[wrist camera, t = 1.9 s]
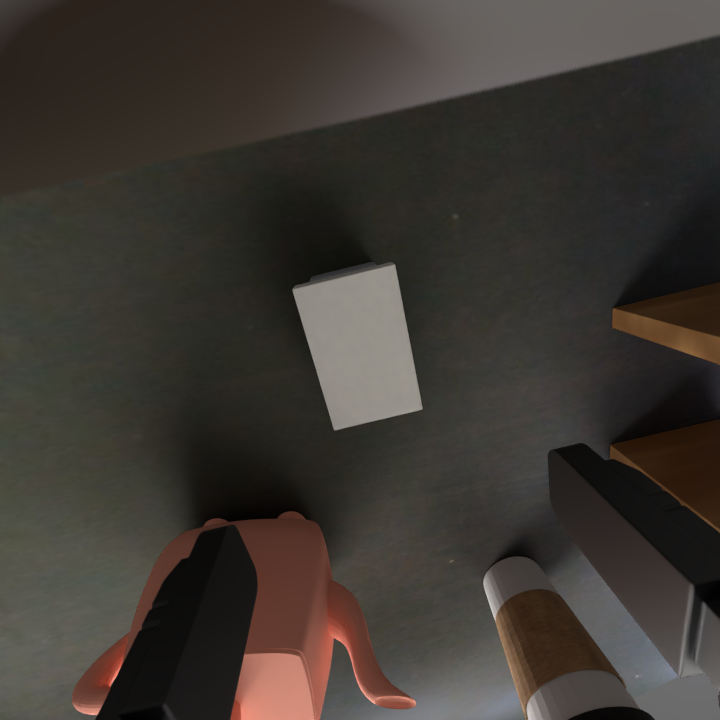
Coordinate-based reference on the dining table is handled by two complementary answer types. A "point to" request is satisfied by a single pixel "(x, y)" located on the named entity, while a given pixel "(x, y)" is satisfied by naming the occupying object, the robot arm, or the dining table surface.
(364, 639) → the teapot
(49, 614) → the dining table surface
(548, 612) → the coffee cup
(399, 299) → the white book
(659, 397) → the dining table surface
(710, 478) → the shelf
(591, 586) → the dining table surface
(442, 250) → the dining table surface
